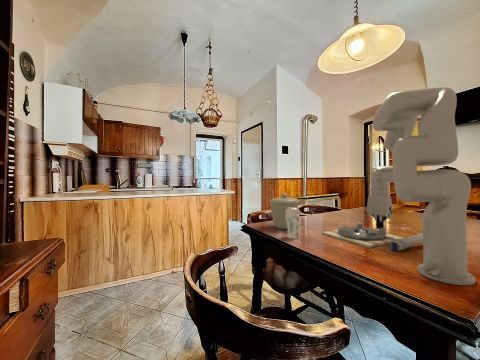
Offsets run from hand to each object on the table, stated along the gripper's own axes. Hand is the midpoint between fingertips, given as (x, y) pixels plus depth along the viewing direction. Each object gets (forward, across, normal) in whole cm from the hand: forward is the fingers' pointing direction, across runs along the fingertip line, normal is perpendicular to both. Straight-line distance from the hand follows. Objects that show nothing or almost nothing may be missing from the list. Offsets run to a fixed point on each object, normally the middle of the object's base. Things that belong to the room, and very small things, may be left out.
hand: (379, 228), depth 107 cm
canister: (+5, -39, -29) cm, 49 cm away
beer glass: (+4, -19, -38) cm, 43 cm away
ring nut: (+3, -4, -8) cm, 9 cm away
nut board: (+4, -4, -8) cm, 10 cm away
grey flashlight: (+4, +17, -2) cm, 17 cm away
